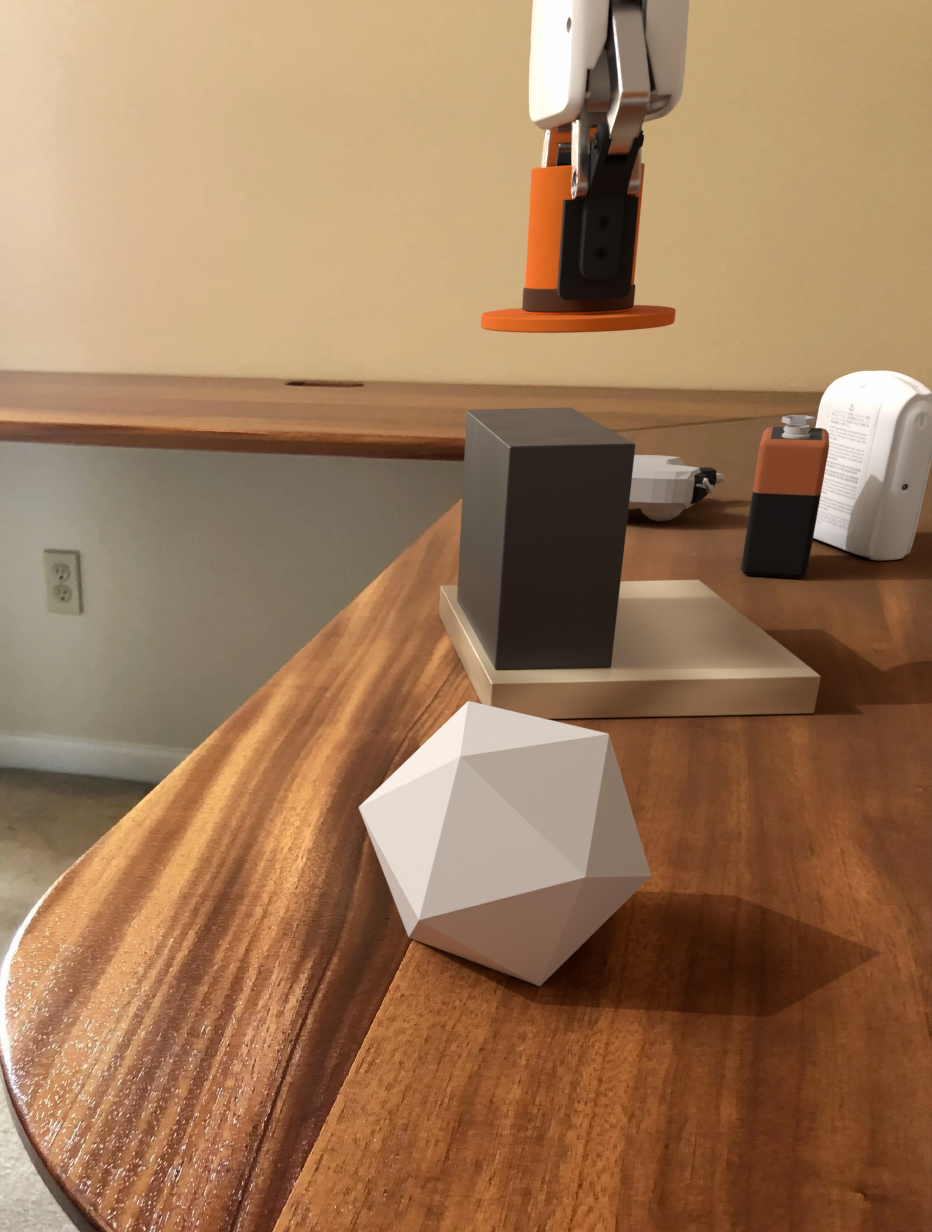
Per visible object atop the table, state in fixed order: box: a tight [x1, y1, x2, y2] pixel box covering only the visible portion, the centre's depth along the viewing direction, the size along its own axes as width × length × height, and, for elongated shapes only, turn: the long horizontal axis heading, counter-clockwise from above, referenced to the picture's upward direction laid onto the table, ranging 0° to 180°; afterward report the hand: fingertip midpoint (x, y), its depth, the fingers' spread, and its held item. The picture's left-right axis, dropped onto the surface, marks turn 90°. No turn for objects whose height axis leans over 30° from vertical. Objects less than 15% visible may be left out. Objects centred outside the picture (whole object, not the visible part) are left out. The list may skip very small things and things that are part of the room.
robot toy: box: [629, 454, 725, 522], centre depth 111 cm, size 12×4×15 cm
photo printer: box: [813, 370, 932, 562], centre depth 95 cm, size 10×4×12 cm, turn 11°
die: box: [358, 700, 652, 987], centre depth 43 cm, size 8×9×10 cm
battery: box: [740, 414, 829, 579], centre depth 91 cm, size 4×7×10 cm, turn 159°
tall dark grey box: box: [457, 406, 636, 670], centre depth 70 cm, size 6×14×11 cm, turn 0°
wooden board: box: [438, 579, 822, 720], centre depth 74 cm, size 16×20×2 cm
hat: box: [480, 162, 677, 334], centre depth 60 cm, size 9×9×7 cm
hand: (578, 290), depth 61 cm, fingers closed on hat, 5 cm apart
